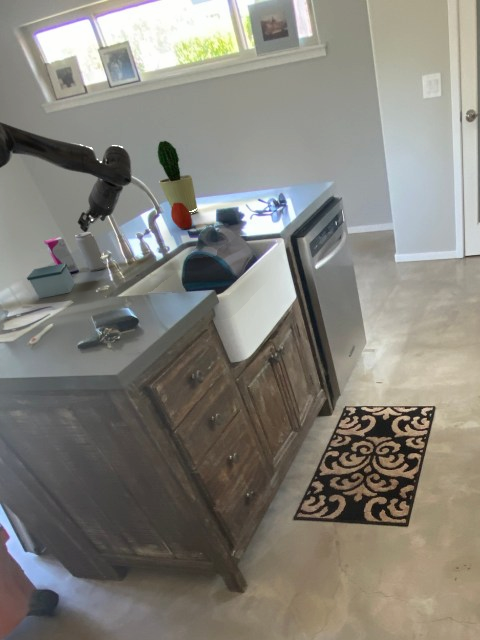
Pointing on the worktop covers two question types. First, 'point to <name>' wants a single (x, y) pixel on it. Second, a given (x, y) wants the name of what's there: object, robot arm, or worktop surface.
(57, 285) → the container
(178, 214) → the red ovoid
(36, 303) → the worktop surface
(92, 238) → the beverage can
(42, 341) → the worktop surface
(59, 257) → the supplement box
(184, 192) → the potted cactus
